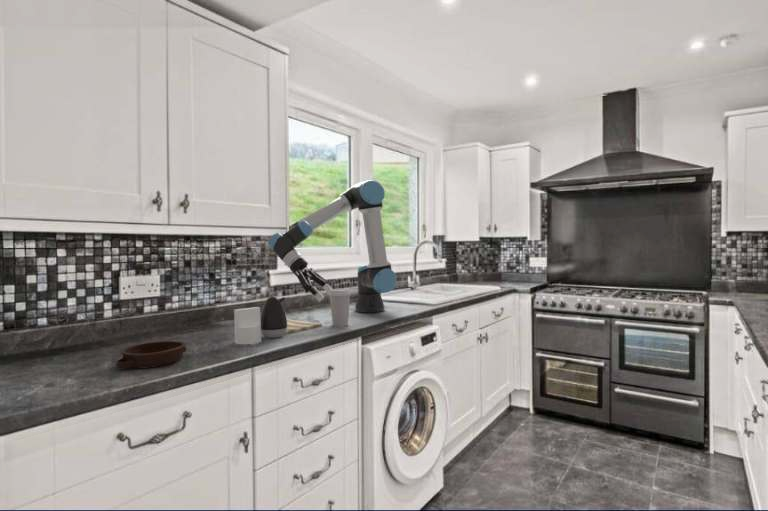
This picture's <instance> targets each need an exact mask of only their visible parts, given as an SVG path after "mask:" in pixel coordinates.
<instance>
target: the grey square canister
mask: <svg viewBox="0 0 768 511" xmlns="http://www.w3.org/2000/svg"><path fill="white" fill-rule="evenodd" d="M233 313H234V314H233V315H234V316H233V319H234V344H235V343H236V344H235V345H237V344H251V345H256V344H255V343H257V344H260V343H262V333H261V322H260V317H261V307H259V306H254V307H253V306H252V307H245V308H237V309H233ZM259 342H260V343H259Z"/></svg>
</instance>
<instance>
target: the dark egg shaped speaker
mask: <svg viewBox="0 0 768 511" xmlns="http://www.w3.org/2000/svg"><path fill="white" fill-rule="evenodd" d="M284 301H286V297H282V298H278V297H276V296H270V297H268V298H267V299H266V300H265V302H264V304H263V305H262V308H261V311H260V322H261V335H262V336H264V338H267V339H279V338H282V337H283V336H284V335H286V334H285V332H286V328H287V320H288V318H287V314H286V310H285V308H284V305H283V302H284Z"/></svg>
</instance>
